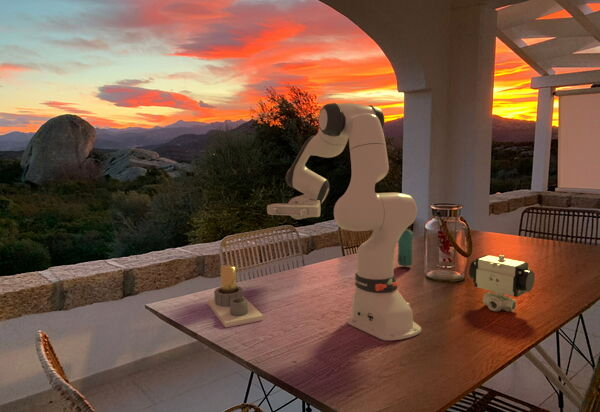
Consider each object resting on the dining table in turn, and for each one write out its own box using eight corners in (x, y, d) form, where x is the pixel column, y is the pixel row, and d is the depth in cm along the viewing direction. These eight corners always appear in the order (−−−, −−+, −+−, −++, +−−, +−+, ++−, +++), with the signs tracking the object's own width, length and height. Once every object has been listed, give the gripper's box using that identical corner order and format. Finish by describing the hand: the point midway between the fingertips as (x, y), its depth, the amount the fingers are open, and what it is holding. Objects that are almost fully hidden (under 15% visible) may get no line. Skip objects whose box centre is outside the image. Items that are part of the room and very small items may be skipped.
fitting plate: (263, 320, 130) (262, 302, 130) (225, 327, 125) (224, 309, 125) (241, 297, 150) (240, 282, 149) (207, 303, 145) (206, 287, 144)
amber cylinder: (238, 302, 141) (237, 267, 140) (224, 304, 139) (223, 269, 138) (233, 298, 146) (232, 264, 144) (219, 300, 144) (218, 266, 142)
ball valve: (465, 304, 141) (467, 253, 139) (477, 298, 146) (480, 248, 144) (521, 321, 127) (524, 263, 125) (532, 313, 133) (536, 258, 130)
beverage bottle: (412, 265, 188) (413, 221, 185) (412, 270, 181) (413, 224, 179) (397, 265, 189) (398, 221, 187) (397, 269, 183) (397, 223, 180)
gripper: (274, 199, 168) (260, 203, 155) (323, 200, 162) (313, 204, 149) (274, 214, 169) (260, 220, 156) (323, 216, 162) (313, 222, 149)
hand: (286, 212), depth 152 cm, fingers open, 8 cm apart
